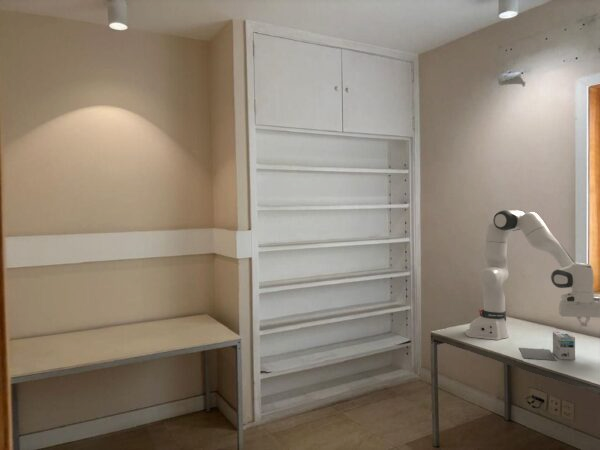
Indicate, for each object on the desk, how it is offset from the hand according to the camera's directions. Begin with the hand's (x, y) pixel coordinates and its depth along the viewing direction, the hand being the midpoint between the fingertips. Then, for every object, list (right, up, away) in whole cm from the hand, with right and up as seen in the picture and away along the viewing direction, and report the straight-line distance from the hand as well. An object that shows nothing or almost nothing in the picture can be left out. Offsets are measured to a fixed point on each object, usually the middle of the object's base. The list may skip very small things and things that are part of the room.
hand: (583, 326), depth 223 cm
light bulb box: (-8, -15, +3) cm, 17 cm away
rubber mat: (-19, -15, +7) cm, 25 cm away
